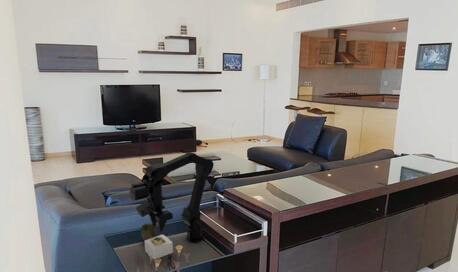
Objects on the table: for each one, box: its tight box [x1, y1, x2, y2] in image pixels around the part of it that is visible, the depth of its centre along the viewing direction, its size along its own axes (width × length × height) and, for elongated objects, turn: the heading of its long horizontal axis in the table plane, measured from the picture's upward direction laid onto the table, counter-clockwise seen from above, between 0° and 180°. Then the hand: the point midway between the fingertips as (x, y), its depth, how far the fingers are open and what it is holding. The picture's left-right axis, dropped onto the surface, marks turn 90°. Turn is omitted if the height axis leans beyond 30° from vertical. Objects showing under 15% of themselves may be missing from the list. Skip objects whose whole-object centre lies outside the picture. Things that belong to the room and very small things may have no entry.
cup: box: [139, 222, 158, 241], centre depth 155 cm, size 8×7×8 cm
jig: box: [143, 234, 174, 260], centre depth 147 cm, size 9×9×5 cm
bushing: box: [154, 236, 163, 246], centre depth 147 cm, size 4×4×6 cm
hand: (157, 228), depth 145 cm, fingers open, 6 cm apart
